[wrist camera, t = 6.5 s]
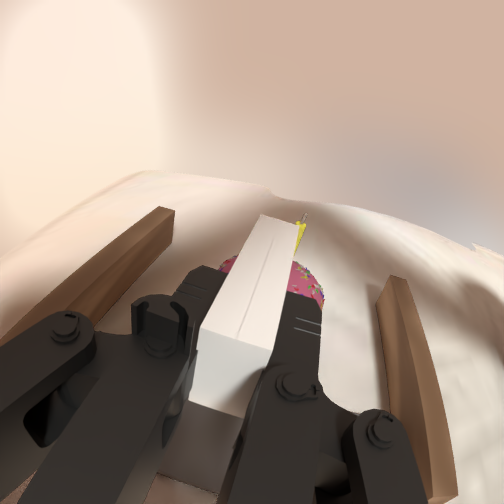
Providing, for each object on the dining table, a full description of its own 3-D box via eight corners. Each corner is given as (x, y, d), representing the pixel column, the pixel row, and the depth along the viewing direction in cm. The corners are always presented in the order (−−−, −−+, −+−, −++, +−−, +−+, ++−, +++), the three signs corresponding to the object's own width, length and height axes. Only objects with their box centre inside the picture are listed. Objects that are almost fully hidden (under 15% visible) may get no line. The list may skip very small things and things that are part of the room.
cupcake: (317, 373, 23) (383, 240, 18) (208, 375, 21) (240, 220, 15) (289, 304, 31) (329, 187, 25) (201, 299, 28) (224, 169, 23)
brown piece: (390, 308, 34) (406, 279, 32) (418, 516, 13) (458, 495, 11) (156, 237, 36) (158, 206, 34) (10, 388, 15) (-10, 349, 13)
